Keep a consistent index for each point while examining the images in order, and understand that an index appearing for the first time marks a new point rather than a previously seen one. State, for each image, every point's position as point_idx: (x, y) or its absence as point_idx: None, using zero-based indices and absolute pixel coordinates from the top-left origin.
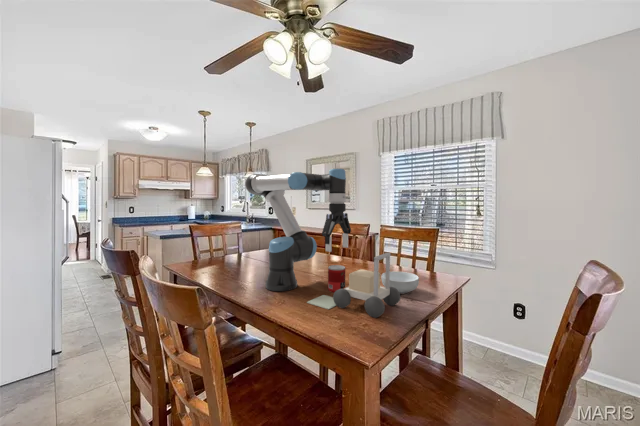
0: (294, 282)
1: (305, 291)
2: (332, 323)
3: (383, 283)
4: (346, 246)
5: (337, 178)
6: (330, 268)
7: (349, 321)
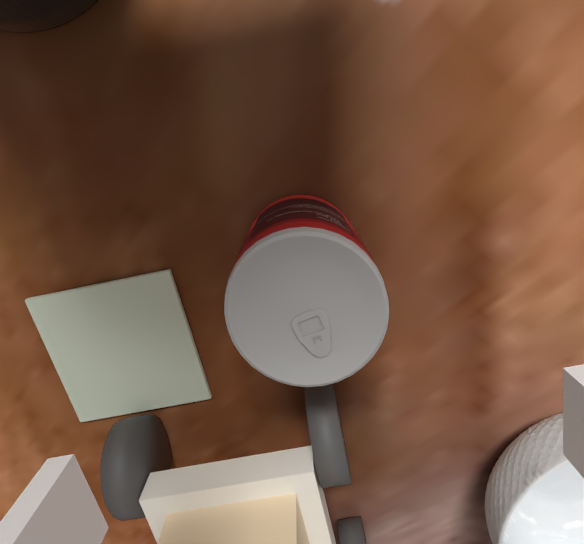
0: (43, 1)
1: (115, 129)
2: None
3: (508, 458)
4: (574, 456)
5: None
6: (224, 310)
7: None
